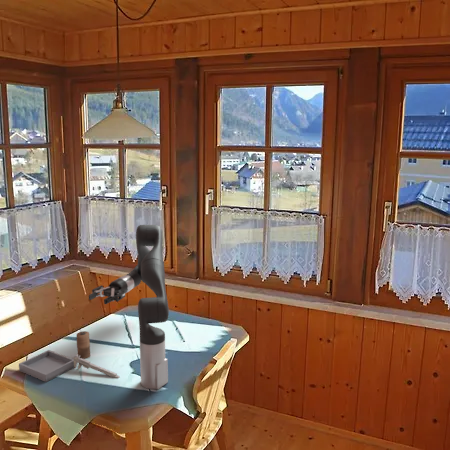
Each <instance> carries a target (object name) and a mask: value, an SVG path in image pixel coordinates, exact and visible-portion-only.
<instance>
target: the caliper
mask: <svg viewBox="0 0 450 450" xmlns="http://www.w3.org/2000/svg"><path fill="white" fill-rule="evenodd" d="M73 359H74V368H73V369H77V370H78V369H79V370H80V369H81V368H82V367H83V368H86V369H88V370H89V369H91V370H94V371H96V372H99V373H101V374H104V375H106V376H109V377H111V378H117V379H119V378H120V375H118V373H116V372H114V371H111V370H109V369H106V368H104V367H102V366H99V365H97V364H94V363H91V361H90V360H87V359H82V358H80V356H78V353H77V354H75V356H74V358H73Z"/></svg>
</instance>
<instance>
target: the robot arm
mask: <svg viewBox="0 0 450 450" xmlns="http://www.w3.org/2000/svg"><path fill="white" fill-rule="evenodd" d="M135 231H136V232H135V243H136V244H135V245H136V252H137V264H136V266H135V267H134V268H133V269H132V270H131V271H130V272H129V273H126V274H125V275H122V276H119V277H118V278H117V279H115V280H113V281H111V282H110V283H109V285H108V286H106V287H104V286H103V285H99V286H97V287H95V288H93V289H91V293H90V294H89V295H88V300H90V301H92V300H94V299H95V298H98V297H101V298H103V297H106V298H104V299H103V304H104V305H108V304H110V303H111V302H116V303H119V301H121V300H123V299H124V298H125V297H126V294H127V293H129V292H130V291H132V289H134V288H136V287H138V286H139V285H140V284H141V282H143V284H145V285H146V286H147V287H148V288H149V289H151V291H152V292H153V293H154V294H155V296H156V297H141V298H140V299H139V300H138V304H137V310H138V311H137V315H138V324H139V326H138V327H139V360H140V361H139V362H140V364H139V365H140V367H139V368H140V384H141V386H142V387H143V388H144V389H145V388H146V389H150V390H151V389H153V390H154V389H155V390H160V389H161V388H162V387H164V386H165V385H167V383H168V382H169V371H168V370H169V367H168V365H169V363H168V362H169V360H168V358H166V333H165V331H164V330H163V329H162V328H159V327H156V326H153V325H152V324H160V323H162V324H163V323H166V322H167V321H168V319H169V315H170V313H169V312H170V311H169V310H170V308H169V302H168V297H167V290H166V277H165V276H166V274H165V263H164V255H163V231H162V227H161V226H160V225H157V224H139V225H138V226H137V227H136V230H135ZM148 247H152V248H151V249H149V248H148Z"/></svg>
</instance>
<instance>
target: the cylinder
mask: <svg viewBox="0 0 450 450" xmlns="http://www.w3.org/2000/svg"><path fill="white" fill-rule="evenodd" d="M90 342H91V341H90V332H89V331H84V330H83V331H79V332H77V333H76V346H77V349H76V350H77V354H78V356H80V358H82V359H85V360H87V359H90V357H91V343H90Z"/></svg>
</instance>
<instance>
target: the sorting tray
mask: <svg viewBox="0 0 450 450" xmlns="http://www.w3.org/2000/svg"><path fill="white" fill-rule="evenodd" d="M72 369H74V358H73V357H72V358H71V357H70V356H66V355H64V354H61V353H58V352H55V351H52V350H50V349H47V350H46V351H44V352H43V351H42V352H41V353H39V354H37V355H35V356H33V357H30V358H28V359H26V360H24V361H22V362H20V363H18V371H19V372H21V373H24V374H25V373H26V375H28V376H30V375H31V376H30V377H33V378H35V379H37V378H38V379H37V380H41V381H43V382H45V383H49V382H50V381H51V380H53V379H55V378H57V377H60V376H61V375H63V374H65V373H66V372H69V371H70V370H72Z"/></svg>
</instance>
